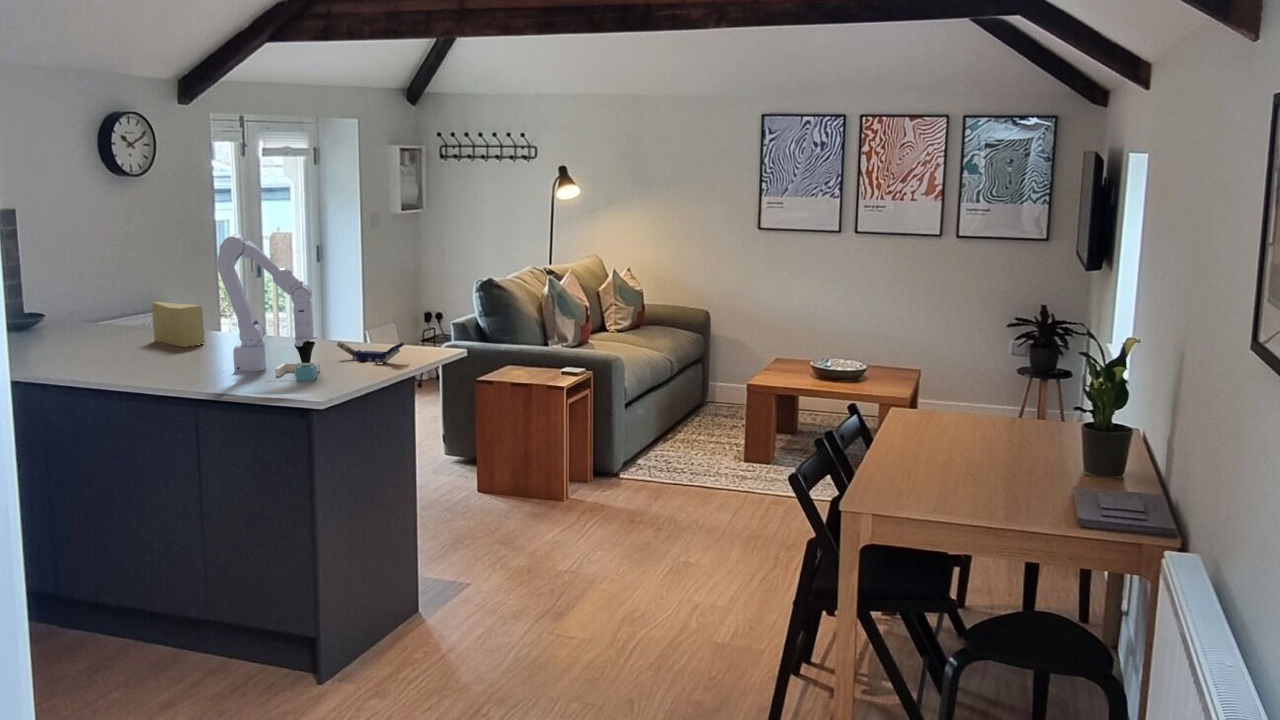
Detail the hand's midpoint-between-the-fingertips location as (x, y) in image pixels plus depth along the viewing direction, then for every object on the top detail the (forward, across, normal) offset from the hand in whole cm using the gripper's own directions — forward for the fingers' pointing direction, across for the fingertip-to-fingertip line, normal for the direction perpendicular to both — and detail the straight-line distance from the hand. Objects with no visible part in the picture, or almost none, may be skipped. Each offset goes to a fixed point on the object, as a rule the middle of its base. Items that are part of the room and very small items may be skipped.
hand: (306, 364), depth 368 cm
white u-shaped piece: (+1, -10, 0) cm, 10 cm away
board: (+2, -8, -2) cm, 8 cm away
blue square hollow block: (+1, -19, -5) cm, 20 cm away
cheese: (+2, +53, +62) cm, 82 cm away
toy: (+2, +12, -18) cm, 22 cm away
